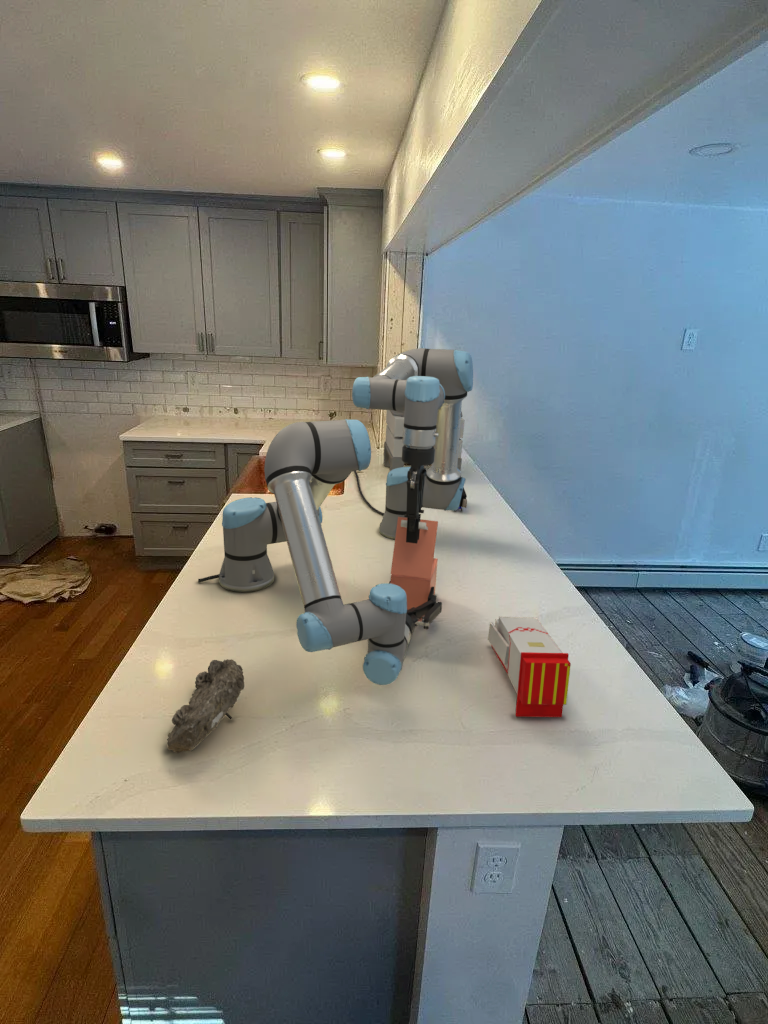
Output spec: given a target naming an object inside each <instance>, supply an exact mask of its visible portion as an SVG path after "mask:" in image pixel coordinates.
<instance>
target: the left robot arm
mask: <svg viewBox="0 0 768 1024" xmlns="http://www.w3.org/2000/svg"><path fill="white" fill-rule="evenodd" d="M371 445H372V444H371V439H370V436H369V432H368V430H367V427H366V426H365V424H364V423H363V422H362V421H361V420H359V419H348V418H344V419H335V420H334V419H333V420H315V421H296V422H293V423H290V424H287V425H286V426H284V427H283V428H281V429H280V430H279V431H278V432H277V433H276V435H274V437H273V438H272V440H271V442H270V444H269V446H268V449H267V451H266V455H265V459H264V469H263V470H264V480H265V484H266V487H267V490H268V492H270V493H272V494H274V498H275V501H271V502H266V501H265V500H264V499H263V498H261V497H250V496H249V497H243V498H239V499H235V500H234V501H231V502H229V503H228V504H227V505H225V507H224V508H223V510H222V521H221V526H222V537H223V550H224V551H223V553H224V556H223V559H222V564H221V567H220V570H219V573H218V574H213V575H209V576H205V577H201V578H197V582H198V583H204V582H207V581H211V580H215V579H218V583H219V585H220V586H221V587H222V588H223V589H225V590H227V591H230V592H236V593H250V592H251V593H252V592H257V591H260V590H263V589H266V588H267V587H269V586H271V585H272V584H273V583H274V581H275V571H274V568H273V566H272V563H271V561H270V558H269V555H268V545H272V544H279V543H285V542H286V544H287V548H288V552H289V556H290V559H291V563H292V568H293V571H294V574H295V579H296V582H297V587H298V591H299V594H300V598H301V602H302V605H303V609H304V612H303V613H301V614H299V615H298V616H297V618H296V621H295V622H296V625H295V626H296V630H297V631H296V632H297V633H296V634H297V639H298V642H299V644H300V646H301V648H302V649H303V650H304V651H305V652H307V653H315V652H320V651H326V650H329V651H330V650H332V649H333V648H337V647H341V646H345V645H349V644H352V643H353V644H354V643H357V642H361V641H365V640H367V652H366V654H365V656H364V658H363V664H362V671H363V674H364V675H365V677H366V679H367V680H368V681H369V682H371V683H372V684H375V685H379V686H388V685H390V684H392V683H394V682H395V681H396V680H397V679H398V677H399V675H400V673H401V671H402V669H403V664H404V660H405V658H406V654H407V650H408V647H409V645H410V641H411V639H412V637H413V633H414V629H415V628H417V626H422V627H423V629H424V630H428V629H429V627H430V625H431V623H432V622H433V621H434V620H435V619H436V618H437V617H438V616H439V615H440V614H441V613H442V608H443V602H442V601H437V598H438V597H437V595H436V594H435V595H434V587H431V590H430V593H429V596H428V601H427V602H425V603H424V604H422V605H420V606H418V607H416V608H415V607H412V608H411V609H409V610H407V596H406V592H405V591H404V590H403V589H402V588H401V587H400V586H397V585H394V584H390V581H389V582H388V583H387V582H384V583H378V584H376V585H375V586H372V587H371V588H370V590H369V594H368V599H364V600H360V601H359V600H358V601H353V602H349V603H346V604H344V602H343V599H342V595H341V591H340V588H339V583H338V581H337V577H336V573H335V569H334V567H333V563H332V559H331V556H330V552H329V548H328V545H327V541H326V538H325V534H324V530H323V528H322V523H323V512H322V508H321V506H322V505H323V503H324V502H325V500H326V499H327V497H328V496H329V494H330V493H331V491H332V490H333V488H334V487H335V485H338V484H341V483H343V482H344V481H346V480H347V479H348V478H349V476H351V473H352V472H354V471H356V472H357V471H358V472H361V471H364V470H366V469H368V468H369V467H370V464H371V460H372V446H371ZM424 615H425V616H424ZM420 617H422V618H421V619H419V618H420Z"/></svg>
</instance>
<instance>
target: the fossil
mask: <svg viewBox="0 0 768 1024" xmlns="http://www.w3.org/2000/svg"><path fill="white" fill-rule="evenodd" d="M243 670H244V669H243V667H242V665H240V664H237V662H236V661H235V660H234V659H232V658H231V659H227V658H226V659H224V660H223V661H222V660H217V659H212V660H211V661H210V663H209V665H208V666H207V671H201V672H199V673H198V674H197V675H196V676H195V680H194V684H195V685H194V687H195V689H194V690H193V693H192V694H191V697H190V698H189V700H188V704H184V705H182V706H181V707H180V709H177V710H176V711H175V713H174V715H173V716H172V718H171V723H172V724H173V727H172V730H171V731H170V732H168V734H167V738H166V741H167V742H166V745H167V749H168V750H169V751H173V752H174V753H176V754H178V753H182V752H188V751H189V752H192V751H193V750H195V748H196V747H197V746H199V744H200V743H201V742H203V741H204V740H205V739H206V738H207V737H208V736H209V735H210V734H211V733H212V732H214V730H215V729H217V727H218V726H219V724H220V722H221V721H222V720H223V719H224V718H225V716H226V717H227V719H229V720H233V717H232V715H230V714H229V710H230V709H231V708H234V706H235V704H236V703H237V702H238V699H239V697H240V695H241V693H242V691H243V690H245V689H244V688H245V675H244V671H243Z"/></svg>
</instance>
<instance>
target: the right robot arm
mask: <svg viewBox="0 0 768 1024" xmlns="http://www.w3.org/2000/svg"><path fill="white" fill-rule="evenodd" d="M473 387H474V363H473V357H472V355H471V353H470V352H469V351H466V350H457V349H447V348H446V349H444V348H441V349H440V348H426V347H421V348H420V347H418V348H412V349H409V350H405V351H403V352H400V353H398V354H396V355H394V356H393V357H392V358H391V359H389V361H388V363H387V365H386V367H384V368H383V369H381V370H380V371H379V372H378V373H376V374H375V375H374V376H372V377H370V376H358V377H356V378H355V379H354V381H353V385H352V391H351V395H352V396H351V397H352V403H353V405H354V406H355V407H356V408H360V409H366V410H381V411H387V410H393V411H404V412H405V413H404V426H403V440H402V443H403V444H404V446H403V447H402V461H403V462H404V463H406V464H409V465H411V466H404V467H401V468H396V469H393V470H391V471H390V470H389V472H388V473H387V475H386V482H385V504H384V505H385V507H384V508H385V509H384V512H382V511H380V510H378V509H377V508H375V507H374V506H373V505H372V504H371V503H370V502H369V501H368V500H367V499H366V497H365V496H364V494H363V492H362V489H361V485H360V480H359V477H358V476H359V475H358V472H357V471H353V473H354V475H355V480H356V485H357V490H358V492H359V495H360V497H361V499H362V500H363V501H364V503H365V504H366V505H367V506H368V507H369V508H370V509H371V510H372V511H373V512H375V513H377V514H379V515H381V516H382V519H381V522H379V527H378V533H379V534H380V535H381V536H382V537H385V538H387V539H389V540H395V537H396V529H397V521H398V517H404V518H407V533H406V542H408V543H416V544H417V542H418V540H419V532H420V529H418V528H419V522H420V519H421V516H422V514H425V509H430V510H431V509H433V510H442V511H451V512H452V511H453V512H456V511H457V510H458V508H459V505H460V500H461V496H462V492H463V487H464V486H465V483H466V478H465V477H463V476H462V470H461V471H460V470H459V469H458V468H457V462H458V448H459V433H460V419H461V418H462V417H461V412H462V403H463V400H465V399H466V398H467V397H468V393H469V392H472V391H473ZM427 465H428V466H429V465H430V466H429V468H426V467H428V466H427ZM464 488H465V487H464ZM423 508H424V509H423ZM459 509H460V508H459Z"/></svg>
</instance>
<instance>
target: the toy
mask: <svg viewBox="0 0 768 1024" xmlns="http://www.w3.org/2000/svg"><path fill="white" fill-rule="evenodd" d="M488 625H489V627H488V633H487V641H488V642H489V644H490V646H491V647H490V648H491V649H492V650H493V652H494V654H495V656H496V658H497V659H498V660H499V662H500V664H501V666H502V668H503V669H504V671H505V673H506V674H507V676H508V678H509V680H510V682H511V685H512V686H513V689H514V690H515V693H516V704H515V717H516V718H517V717H518V718H519V717H520V718H521V717H522V718H563V710H564V705H567V701H568V692H569V685H570V684H569V683H570V676H571V675H570V674H571V666H572V664H571V661H570V660H569V655H570V654H569V653H568V652H563V651H562V649H561V648H560V647H559V646H558V644H557V643H556V642H555V640H554V639H553V638H552V636H551V635H550V634H549V632H548V631H547V629H546V628H545V627H544V626H543V624H542V622H541V621H540V620H539V619H538V618H537V616H498V618H496V619H494V623H493V622H489V624H488Z"/></svg>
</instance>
